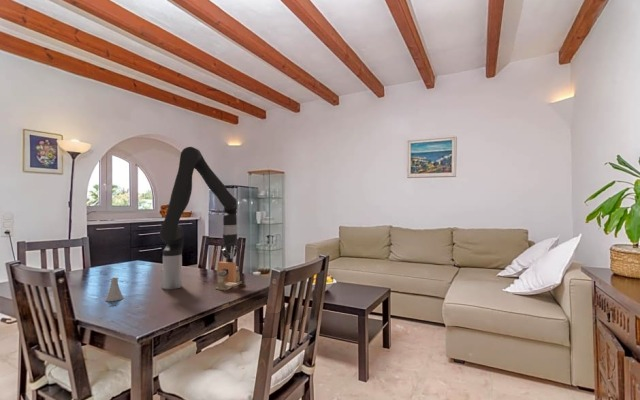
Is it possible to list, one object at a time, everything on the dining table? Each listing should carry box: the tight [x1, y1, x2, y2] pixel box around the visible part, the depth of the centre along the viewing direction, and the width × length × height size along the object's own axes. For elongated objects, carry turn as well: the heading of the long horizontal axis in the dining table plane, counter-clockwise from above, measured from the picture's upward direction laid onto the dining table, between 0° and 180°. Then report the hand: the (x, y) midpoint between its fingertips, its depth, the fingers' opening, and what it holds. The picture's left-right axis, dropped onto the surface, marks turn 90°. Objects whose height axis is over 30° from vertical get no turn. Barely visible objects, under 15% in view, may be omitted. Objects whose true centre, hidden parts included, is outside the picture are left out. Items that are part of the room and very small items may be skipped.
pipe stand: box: [214, 265, 243, 291], centre depth 177 cm, size 15×6×9 cm, turn 160°
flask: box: [105, 277, 124, 302], centre depth 154 cm, size 7×7×10 cm
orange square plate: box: [217, 261, 237, 283], centre depth 175 cm, size 10×2×10 cm, turn 70°
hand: (230, 265), depth 178 cm, fingers closed
